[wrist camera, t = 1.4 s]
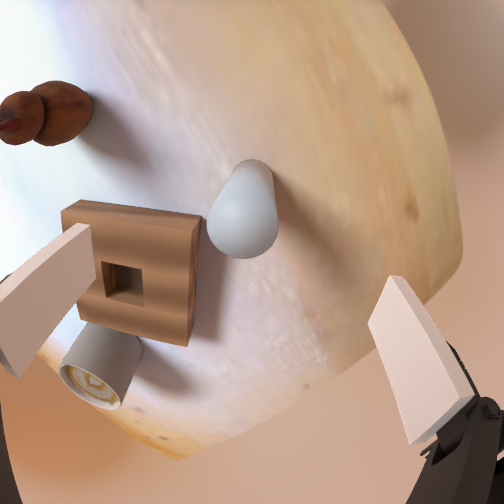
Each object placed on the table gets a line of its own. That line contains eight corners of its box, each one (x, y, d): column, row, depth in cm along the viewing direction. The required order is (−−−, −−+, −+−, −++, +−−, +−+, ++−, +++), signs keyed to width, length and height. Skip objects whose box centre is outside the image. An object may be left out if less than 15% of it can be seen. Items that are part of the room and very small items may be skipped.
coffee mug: (132, 319, 35) (103, 372, 26) (150, 365, 40) (131, 415, 31) (63, 310, 36) (31, 352, 27) (85, 354, 41) (61, 395, 32)
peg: (234, 156, 25) (210, 186, 15) (276, 163, 25) (285, 199, 15) (228, 196, 27) (203, 252, 16) (269, 202, 27) (271, 263, 17)
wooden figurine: (111, 105, 23) (-1, 117, 9) (82, 147, 25) (-22, 187, 12) (76, 74, 21) (-30, 74, 7) (51, 115, 23) (-50, 138, 9)
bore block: (80, 199, 28) (60, 211, 24) (201, 216, 28) (191, 231, 25) (93, 301, 34) (80, 319, 31) (193, 325, 35) (187, 347, 31)
